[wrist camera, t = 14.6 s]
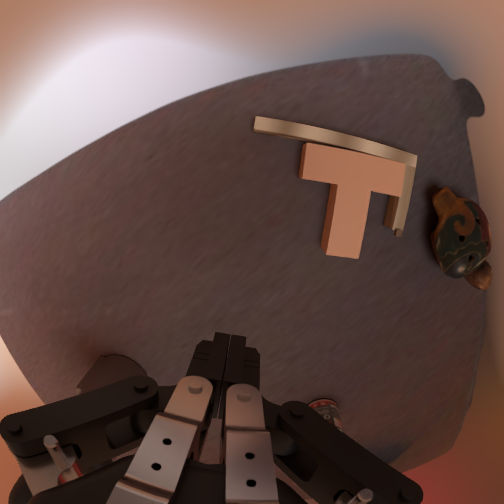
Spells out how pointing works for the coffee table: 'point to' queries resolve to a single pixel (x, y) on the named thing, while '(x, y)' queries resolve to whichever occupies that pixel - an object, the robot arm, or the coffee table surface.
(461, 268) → the decorative turtle
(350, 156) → the T-block
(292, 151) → the coffee table surface
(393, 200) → the maple L-fence
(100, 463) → the robot arm
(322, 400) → the pill bottle
